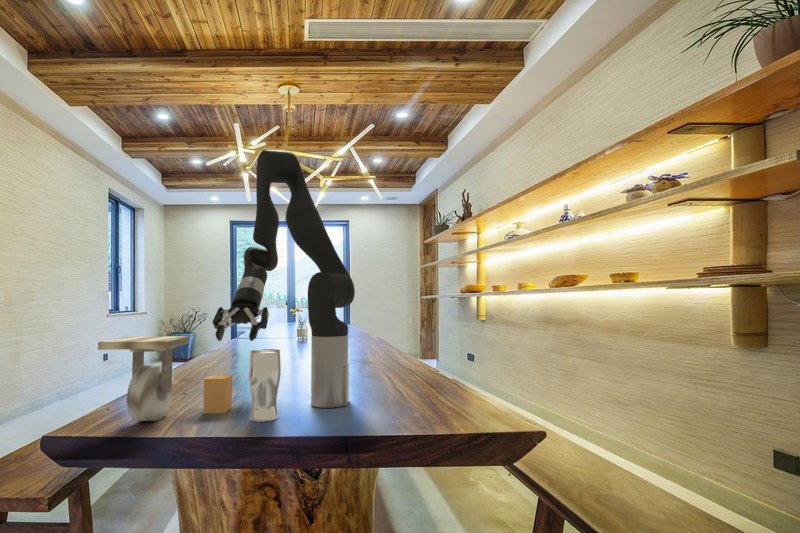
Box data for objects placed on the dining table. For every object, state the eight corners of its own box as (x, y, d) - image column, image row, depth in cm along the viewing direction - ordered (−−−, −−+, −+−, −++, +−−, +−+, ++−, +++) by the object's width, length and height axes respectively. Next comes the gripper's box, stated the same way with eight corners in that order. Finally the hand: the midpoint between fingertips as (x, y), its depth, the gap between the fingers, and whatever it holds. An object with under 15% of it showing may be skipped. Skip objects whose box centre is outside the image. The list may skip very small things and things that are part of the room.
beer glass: (286, 418, 98) (287, 350, 99) (258, 425, 93) (259, 354, 94) (270, 412, 103) (270, 348, 104) (242, 418, 98) (243, 351, 99)
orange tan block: (231, 408, 107) (232, 375, 107) (224, 413, 102) (225, 378, 103) (211, 408, 107) (211, 375, 107) (203, 413, 102) (204, 378, 103)
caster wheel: (194, 411, 103) (196, 334, 104) (164, 430, 89) (167, 341, 90) (134, 412, 103) (136, 334, 104) (95, 431, 89) (98, 341, 90)
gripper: (221, 286, 126) (204, 330, 114) (271, 286, 127) (259, 330, 115) (227, 303, 131) (211, 347, 119) (275, 304, 132) (264, 347, 120)
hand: (235, 338), depth 117 cm, fingers open, 8 cm apart
